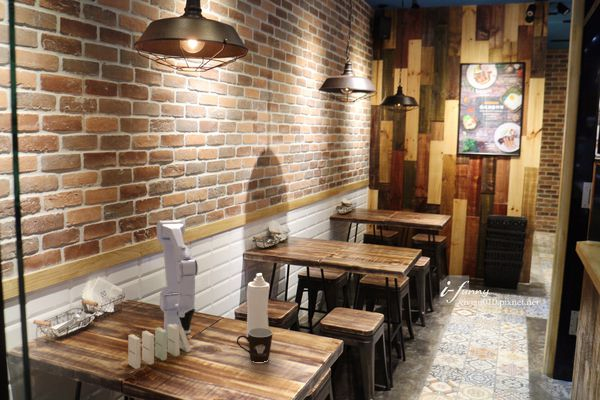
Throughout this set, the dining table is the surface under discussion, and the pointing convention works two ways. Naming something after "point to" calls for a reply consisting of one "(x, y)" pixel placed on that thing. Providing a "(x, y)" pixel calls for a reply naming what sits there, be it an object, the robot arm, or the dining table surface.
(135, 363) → the domino
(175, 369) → the dining table surface
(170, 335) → the domino
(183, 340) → the domino
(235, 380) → the dining table surface
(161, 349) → the domino
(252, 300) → the spray can
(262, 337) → the coffee mug
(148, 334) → the domino
